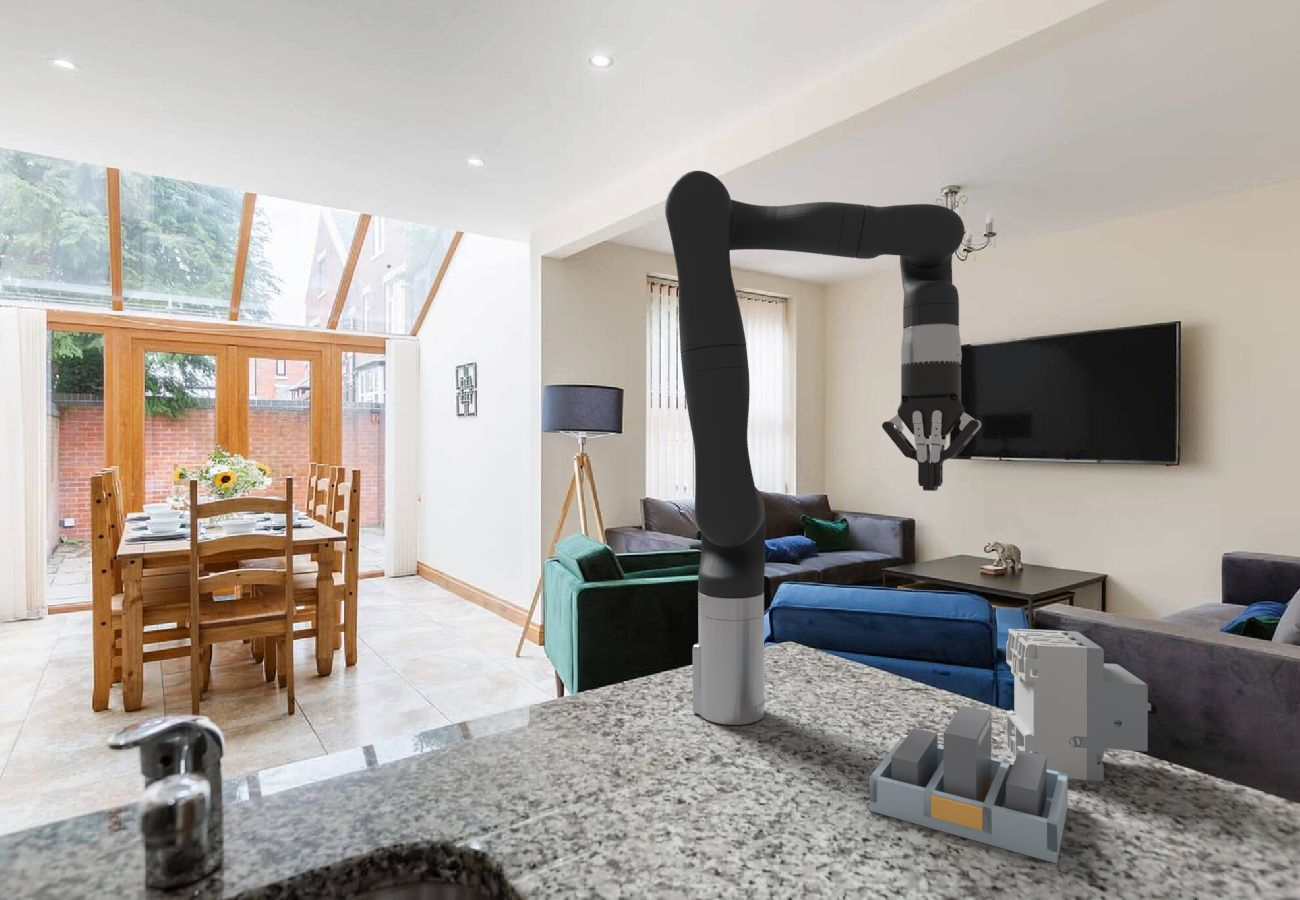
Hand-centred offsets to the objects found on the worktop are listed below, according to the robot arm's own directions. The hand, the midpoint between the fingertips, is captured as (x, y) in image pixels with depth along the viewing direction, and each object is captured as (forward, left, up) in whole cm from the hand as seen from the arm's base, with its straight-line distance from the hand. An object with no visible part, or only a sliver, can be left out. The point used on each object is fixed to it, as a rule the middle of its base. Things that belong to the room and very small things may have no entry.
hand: (930, 490), depth 97 cm
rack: (+9, -21, -32) cm, 39 cm away
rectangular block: (+9, -21, -31) cm, 38 cm away
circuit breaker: (+18, -3, -32) cm, 37 cm away
